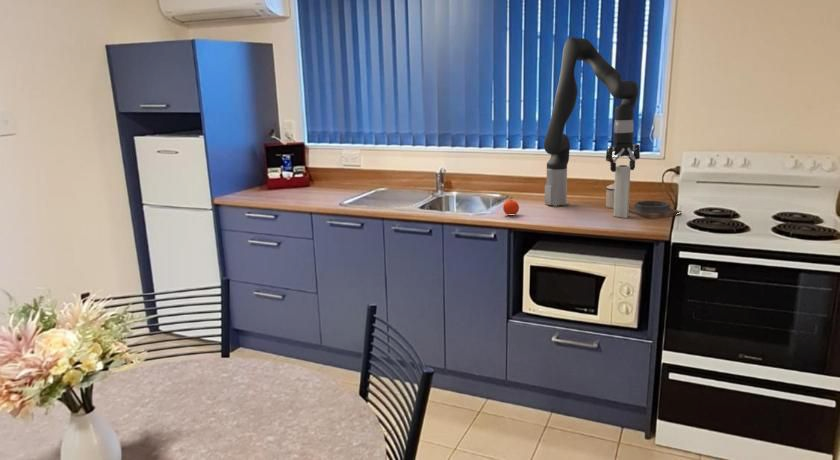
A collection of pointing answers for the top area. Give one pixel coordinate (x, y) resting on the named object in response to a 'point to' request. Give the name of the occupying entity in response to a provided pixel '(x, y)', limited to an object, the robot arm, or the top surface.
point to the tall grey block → (622, 191)
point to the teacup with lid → (610, 196)
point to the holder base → (653, 215)
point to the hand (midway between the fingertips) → (622, 170)
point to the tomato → (510, 207)
